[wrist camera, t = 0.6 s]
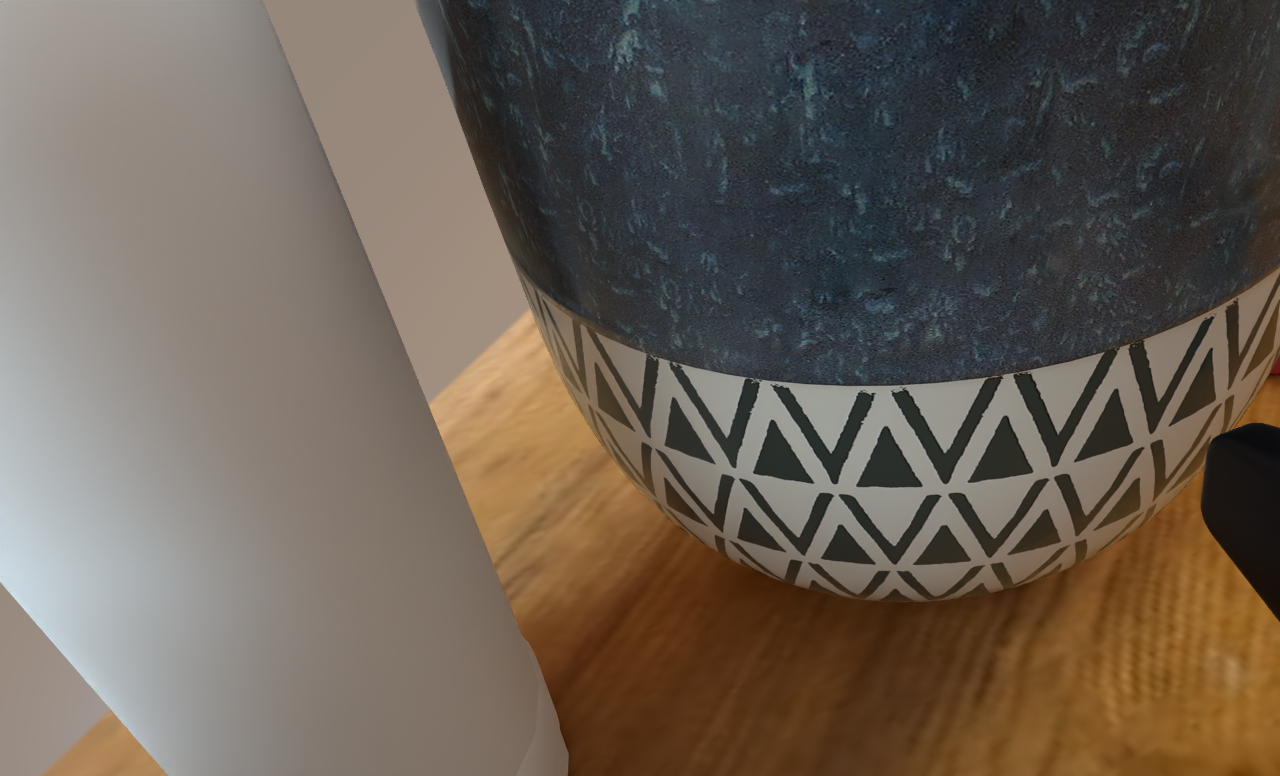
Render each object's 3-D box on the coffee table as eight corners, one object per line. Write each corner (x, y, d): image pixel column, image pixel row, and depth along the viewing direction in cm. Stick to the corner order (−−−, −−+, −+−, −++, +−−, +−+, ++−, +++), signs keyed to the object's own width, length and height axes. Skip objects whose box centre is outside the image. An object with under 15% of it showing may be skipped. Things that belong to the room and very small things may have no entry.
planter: (1453, 595, 26) (1992, -547, 13) (715, 905, 24) (413, -102, 10) (1005, 231, 41) (1034, -473, 28) (522, 399, 39) (295, -284, 25)
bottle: (258, 735, 30) (-962, -928, 11) (526, 624, 31) (-140, -1040, 12) (284, 1026, 24) (-2440, -1634, 5) (617, 873, 25) (-449, -1712, 6)
